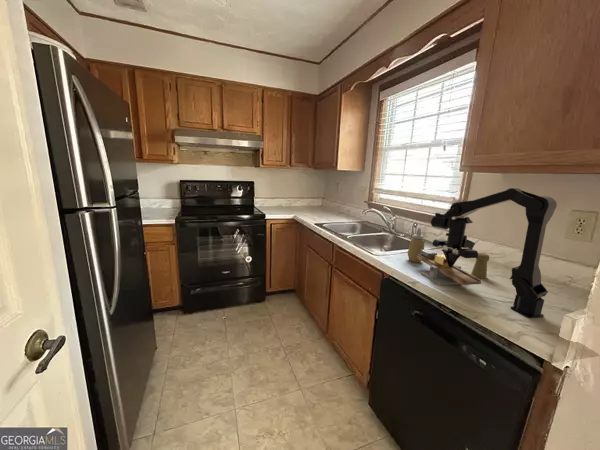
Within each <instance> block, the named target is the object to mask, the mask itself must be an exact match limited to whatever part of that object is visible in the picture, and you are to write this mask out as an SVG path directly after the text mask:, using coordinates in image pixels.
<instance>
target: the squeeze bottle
mask: <svg viewBox="0 0 600 450" xmlns="http://www.w3.org/2000/svg"><path fill="white" fill-rule="evenodd" d="M408 245H409V246H408V250H407V256H408V261H410V262H413V263H421V262H422V261H421V260H419V259H418V258H417V256H418V254H420V252H421V250H425V240H424V235H423V234H422V229H421V228H420V227H418V228H417V231H416V233H414V234H413V237H412V238H411V239H410V243H409V244H408Z"/></svg>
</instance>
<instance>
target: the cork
mask: <svg viewBox="0 0 600 450" xmlns="http://www.w3.org/2000/svg"><path fill="white" fill-rule="evenodd" d="M489 260H490V256H489V254H487V253H483V252H478V258H475V263H474V265H473V267H472V271H471V273H470V274H471V275H473V276H475V277H477V278H479V279H481V280H482V279H483V280H485V279H487V273H488V261H489Z"/></svg>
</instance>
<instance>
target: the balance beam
mask: <svg viewBox="0 0 600 450" xmlns="http://www.w3.org/2000/svg"><path fill="white" fill-rule="evenodd" d="M417 258H418V259H419V260H421V262H423V263H425V264H426V265H427V266H429V267H431V266H436V267H438V271H440V272H441V273H443V274H445V275H446V276H448V277H450V278H451V279H453V280H455V281H457V282H458V283H460V284H459V285H462V286H469V285H481V284H482V279H481V278H477V277H475V276H473V275H471V273H469V272H467V271H465V270H463V269H462V268H461V269H460V268H458V267H456V266H454V265H455V264H454V265H453V267H450V268H443V267H441V266H440V265H438V264H436V263H434V261H435V259H427V258H425V257H424V256H422V255H420V254H418V256H417Z"/></svg>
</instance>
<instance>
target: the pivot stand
mask: <svg viewBox="0 0 600 450" xmlns="http://www.w3.org/2000/svg"><path fill="white" fill-rule="evenodd" d="M454 266H456V267H458V268H460V269H461V270H462V266H461V265H458V264H454ZM420 275H422V276H423V277H425V278H426V279H429V280H430V281H432V282H433V283H435V284H437V285H439V286H451V285H452V286H455V285H461V284H460V283H458V282H457V281H455V280H453V279H451V278H450V277H448V276H446V275H445V274H443V273H441V272H440V271H438V267H436V266H429V271H421V272H420Z"/></svg>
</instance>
